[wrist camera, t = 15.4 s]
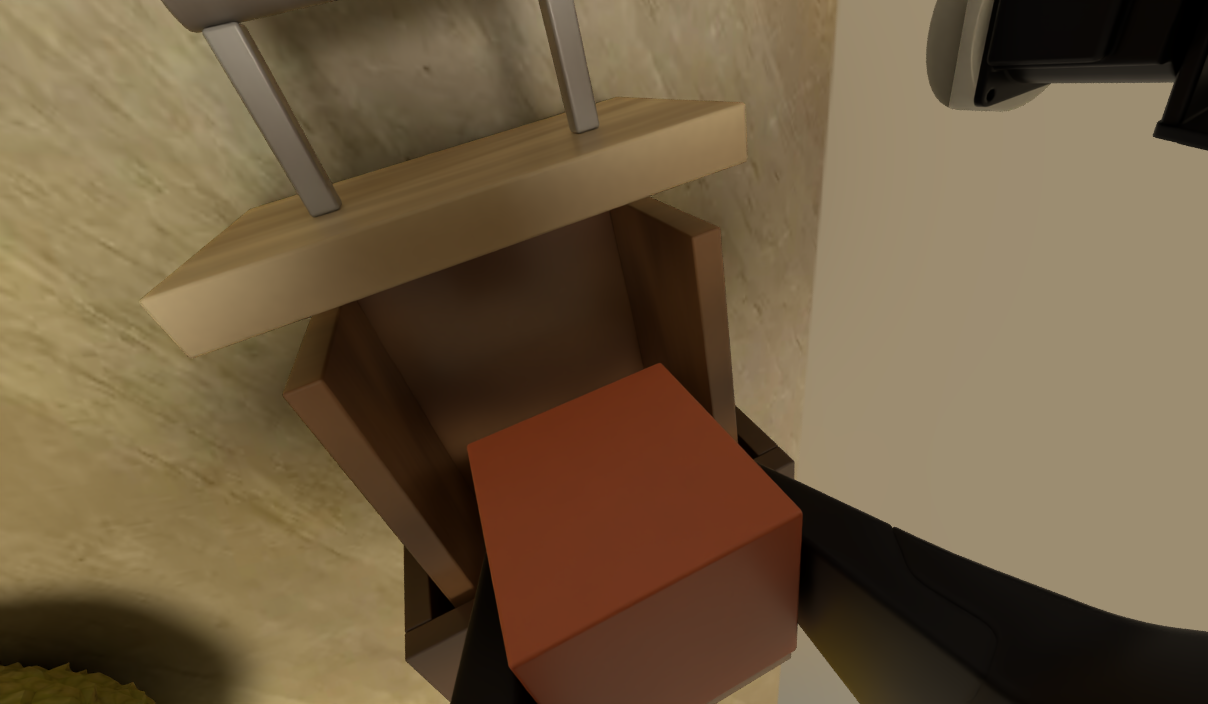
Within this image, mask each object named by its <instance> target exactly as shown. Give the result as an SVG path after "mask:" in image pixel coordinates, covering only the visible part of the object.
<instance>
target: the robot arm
mask: <svg viewBox="0 0 1208 704" xmlns="http://www.w3.org/2000/svg"><path fill="white" fill-rule="evenodd" d="M1142 82H1143V83H1153V82H1154V83H1156V82H1158V83H1160V82H1174V85H1173V88H1172V91H1171V93H1170V96H1169V99H1168V102H1167V105H1166V108H1165V111H1164V114H1163V117H1162V119H1161V120H1160V121H1158V122H1157V125H1156V127H1155V130H1154V133H1153V137H1155V138H1159V139H1163V140H1167V141H1172V142H1177V143H1179V144H1182V145H1186V146H1190V147H1195V148H1200V149H1203V150H1208V0H994V3H993V8H992V13H991V18H990V23H989V27H988V32H987V37H986V42H985V47H984V52H983V56H982V61H981V66H980V71H979V76H978V81H977V85H976V90H975V95H974V105H975V106H976V107H989V106H992V105H994V104H997V103H1000V102H1002V101H1005V100H1008V99H1010V98H1013V97H1016V96H1018V95H1021V94H1024V93H1026V92H1029V91H1032V90H1035V89H1037V88H1040V87H1043V86H1045V85H1048V84H1051V83H1142ZM755 462H756V461H755ZM756 463H757V464H758V465H759V466H760V467H761V468H762V470H763V471H764V472H765V473H766V474H767V475H768V476H769V477H770V478H771V479H772V480H773V481H774V482H775V483H776V484H777V485H778V486H779V487H780V488H781V489H782V491H783V492H784V493H785V494H786V495H787V496H788V497H789V498H790V499H791V500H792V501H793V502H794V503H795V504H796V505H797V506H798V507H799V508H800V510H801V511H802V514H803V519H802V541H801V562H800V584H799V605H798V624H799V625H800V627H801V628H802V629H803V631H804V632H805V633H806V634H807V636H808V637H809V638H810V640H811V641H812V642H813V643H814V645H815V646H816V647H817V649H818V650H819V651H820V653H821V654H822V655H823V657H825V659H826V660H827V662H828V663H829V664H830V666H831V667H832V668H833V669H834V671H835V672H836V673H837V675H838V676H839V677H840V679H841V680H842V681H843V682H844V684H845V685H846V686H847V688H848V689H849V690H850V692H851V693H852V694H853V695H854V697H855V698H856V699H857V701H858V702H859V703H860V704H1208V632H1206V631H1198V630H1190V629H1181V628H1173V627H1167V626H1161V625H1156V624H1151V623H1146V622H1142V621H1138V620H1134V619H1130V618H1126V617H1123V616H1119V615H1116V614H1113V613H1109V612H1106V611H1103V610H1101V609H1098V608H1095V607H1092V606H1089V605H1087V604H1084V603H1082V602H1079V601H1076V600H1074V599H1071V598H1068V597H1066V596H1063V595H1060V594H1058V593H1055V592H1052V591H1050V590H1047V589H1044V588H1042V587H1039V586H1037V585H1034V584H1031V583H1029V582H1026V581H1023V580H1020V579H1018V578H1015V577H1013V576H1010V575H1008V574H1005V573H1002V572H1000V571H997V570H994V569H992V568H989V567H987V566H984V565H982V564H979V563H977V562H974V561H972V560H969V559H967V558H964V557H962V556H959V555H957V554H954V553H952V552H950V551H947V550H945V549H943V548H940V547H938V546H936V545H934V544H932V543H929V542H927V541H925V540H923V539H920V538H918V537H916V536H914V535H912V534H910V533H908V532H905V531H903V530H901V529H899V528H897V527H893V528H892V526H891V525H890V524H888V523H886V522H883V521H881V520H879V519H877V518H875V517H873V516H871V515H869V514H867V513H864V512H862V511H860V510H858V509H856V508H854V507H851V506H850V505H847V504H845V503H843V502H841V501H839V500H837V499H834V498H832V497H830V496H828V495H826V494H824V493H822V492H820V491H818V490H815V489H813V488H811V487H809V486H807V485H805V484H803V483H801V482H798V481H796V480H794V479H792V478H790V477H788V476H786V475H783V474H781V473H779V472H777V471H775V470H773V469H771V468H769V467H766V466H764V465H762V464H760V463H758V462H756ZM450 704H537V703H536V701H535V700H534V699H533V697H532V696H531V695H530V694H529V692H528V691H527V690H526V689H525V687H524V686H523V685H522V683H521V682H520V681H519V680H518V678H517V677H516V676H515V674H514V673H513V672H512V671H511V669H510V668H509V666H508V661H507V656H506V651H505V645H504V640H503V635H502V630H501V624H500V619H499V614H498V609H497V603H496V598H495V593H494V588H493V582H492V577H491V572H490V567H489V562H488V556H487V551H486V553H485V556H484V560H483V564H482V569H481V573H480V577H479V581H478V586H477V590H476V594H475V599H474V603H473V607H472V612H471V616H470V620H469V625H468V629H467V633H466V637H465V642H464V646H463V650H462V655H461V659H460V663H459V668H458V672H457V676H456V681H455V685H454V689H453V693H452V698H451V702H450Z"/></svg>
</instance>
